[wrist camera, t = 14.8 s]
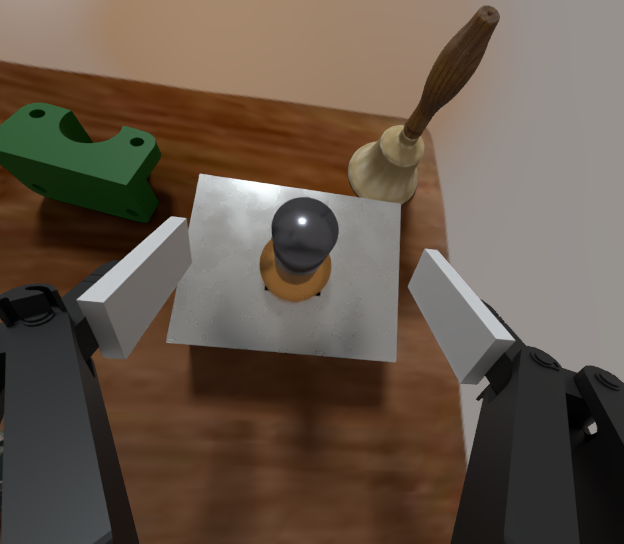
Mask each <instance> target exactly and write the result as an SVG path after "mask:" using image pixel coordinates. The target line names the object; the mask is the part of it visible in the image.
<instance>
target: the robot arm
mask: <svg viewBox="0 0 624 544" xmlns="http://www.w3.org/2000/svg"><path fill="white" fill-rule="evenodd" d="M191 264H192V258H191V250H190V242H189V235H188V227H187V219H186V218H180V217H172V216H171V217H170V218H169V219H167V220H166V221H165V222H164V223H163V224H162V225H161V226H159V227H158V228H157V229H156V230H155V231H154V232H153V233H152V234H150V235H149V236H148V237H147V238H146V239H145V240H144V241H143V242H141V243H140V244H139V245H138V246H137V247H136V248H135V249H133V250H132V251H131V252H130V253H129V254H128V255H127V256H126V257H124V258H123V259H122V260H121V261H116V260H113V261H111V262H108V263H106V264H104V265H102V266H100V267H99V268H97V269H96V270H95V271H94V272H92V273H91V275H90V276H88V277H86V278H85V279H84V280H83V282H80V283H79V284H78V285H77V286H75V287H74V288H73V289H72V290H71V291H69V292H68V293H67V294H66V295H64V296H63V297H62V298H61V297H60V295H59V293H58V291H57V289H56V288H55V287H54V286H52V285H49V284H39V283H37V284H30V285H24V286H21V287H17V288H14V289H11V290H9V291H7V292H5V293H3V294H1V295H0V319H1V320H2V321H3V323H0V423H1V420H2V418H3V415H4V444H3V481H2V518H1V544H139V540H138V536H137V532H136V528H135V524H134V520H133V516H132V512H131V508H130V504H129V500H128V496H127V492H126V488H125V484H124V480H123V476H122V472H121V468H120V464H119V460H118V456H117V452H116V449H115V445H114V441H113V437H112V433H111V429H110V425H109V421H108V417H107V413H106V409H105V405H104V401H103V397H102V393H101V389H100V385H99V381H98V377H97V373H96V369H95V365H94V361H93V359H92V358H91V356H92V355H93V353H94V352H95V351H96V350H97V348H98V347H99V349H100V351H101V353H102V356H103V358H113V359H127V357H128V356H129V354H130V353H131V351H132V350H133V349H134V347H135V346H136V344H137V343H138V341H139V340H140V338H141V337H142V335H143V334H144V332H145V331H146V330H147V328H148V327H149V325H150V324H151V322H152V321H153V319H154V318H155V316H156V315H157V313H158V312H159V311H160V309H161V308H162V306H163V305H164V303H165V302H166V300H167V299H168V297H169V296H170V294H171V293H172V292H173V290H174V289H175V287H176V286H177V284H178V283H179V281H180V280H181V278H182V277H183V275H184V274H185V273H186V271H187V270H188V268H189V267H190V265H191ZM408 288H409V290H410V292H411V294H412V296H413V297H414V299H415V301H416V303H417V305H418V307H419V309H420V310H421V312H422V314H423V316H424V318H425V320H426V321H427V323H428V325H429V327H430V329H431V331H432V332H433V334H434V336H435V338H436V340H437V342H438V344H439V345H440V347H441V349H442V351H443V353H444V355H445V356H446V358H447V360H448V362H449V364H450V366H451V367H452V369H453V371H454V373H455V375H456V377H457V379H458V380H459V382H460V383H461V384H476V385H477V384H478V383H479V382H480V381H481V380H482V378H483V377H484V376H486V378H487V379H488V381H489V382H490V384H489V385H488V386H487V387H486V388H485V389H484V390H483V391H482V393H481V394H480V395H479V396H478V397H477V399H476V400H478V401H479V400H480V399H481V398H483V402H482V406H481V411H480V415H479V420H478V424H477V429H476V433H475V438H474V442H473V447H472V451H471V455H470V460H469V464H468V468H467V473H466V477H465V482H464V486H463V491H462V495H461V500H460V504H459V508H458V513H457V517H456V522H455V526H454V531H453V535H452V540H451V544H624V383H623V382H622V381H620V380H619V379H618V378H617V377H616V376H615V375H612V374H611V373H609V372H608V371H605V370H603V369H601V368H598V367H595V366H585V367H584V368H583V369H581V370H580V371H579V372H578V373H576V372H573V371H570V370H567V369H564V368H562V367H561V366H560V364H559V363H558V362H557V361H556V360H555V359H554V358H552V357H551V356H550V355H549V354H547V353H545V352H544V351H542V350H540V349H537V348H535V347H530V346H526V345H525V344H524V343H523V342H522V341H521V339H519V337H518V336H517V335H516V334H515V333H514V332H513V331H512V329H511V328H510V327H509V326H508V325H507V324H506V323H504V320H502V318H501V317H499V315H498V314H497V313H496V311H495V310H494V309H493V308H492V307H491V306H490V305H488V304H487V303H485V302H484V301H483V300H481V299H479V298H478V297H477V295H475V293H474V292H473V291H472V290H471V289H470V287H469V286H468V285H467V284H466V283H465V282H464V280H463V279H462V278H461V277H460V276H459V275H458V274H457V272H456V271H455V270H454V269H453V268H452V267H451V265H450V264H449V263H448V262H447V261H446V260H445V259H444V257H443V256H442V255H441V254H440V253H439V252H438V250H431V249H424V251H423V254H422V256H421V258H420V260H419V262H418V265H417V267H416V269H415V271H414V274H413V276H412V278H411V280H410V283H409V285H408ZM594 422H596V425H597V432H596V433H595V434H592V435H591V433H590V432H589V429H588V426H590V425H591V424H593V423H594Z"/></svg>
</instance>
